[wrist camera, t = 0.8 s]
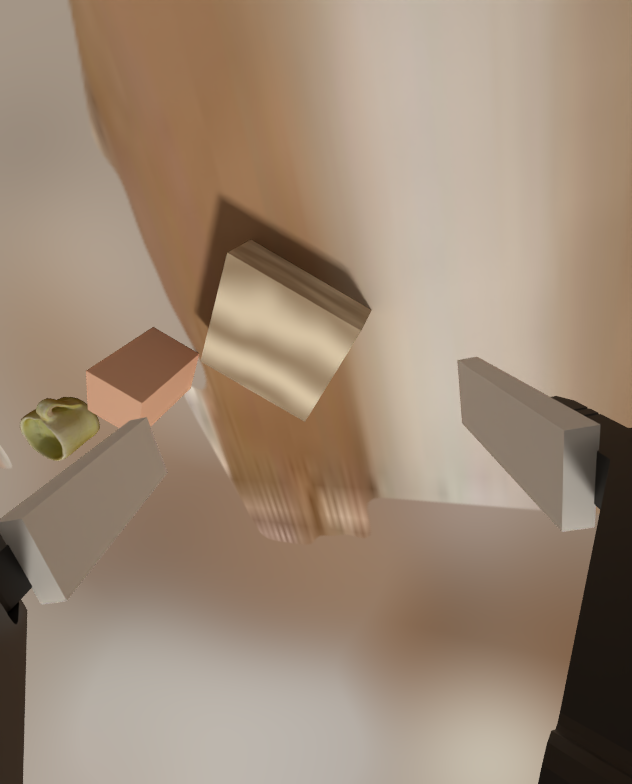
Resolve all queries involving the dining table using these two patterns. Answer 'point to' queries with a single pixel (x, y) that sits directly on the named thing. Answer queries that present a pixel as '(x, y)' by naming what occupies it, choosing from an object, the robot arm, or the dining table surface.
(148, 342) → the terracotta block
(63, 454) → the mug
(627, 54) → the dining table surface
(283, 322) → the ash block
